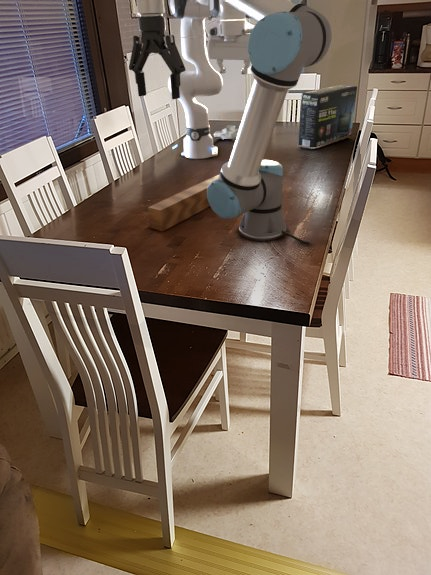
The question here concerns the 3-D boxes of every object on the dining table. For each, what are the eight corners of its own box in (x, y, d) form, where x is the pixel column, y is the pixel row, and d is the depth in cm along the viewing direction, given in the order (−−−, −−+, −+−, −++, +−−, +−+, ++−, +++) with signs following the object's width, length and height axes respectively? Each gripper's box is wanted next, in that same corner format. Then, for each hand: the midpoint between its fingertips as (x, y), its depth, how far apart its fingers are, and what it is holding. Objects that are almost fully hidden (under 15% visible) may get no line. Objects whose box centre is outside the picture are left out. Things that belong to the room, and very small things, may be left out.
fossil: (236, 135, 249) (218, 118, 252) (226, 152, 256) (208, 135, 259) (252, 134, 263) (234, 118, 266) (242, 150, 269) (225, 134, 273)
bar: (162, 231, 153) (160, 210, 149) (150, 227, 156) (147, 207, 152) (250, 184, 191) (250, 167, 187) (238, 182, 194) (238, 165, 190)
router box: (314, 151, 231) (318, 94, 217) (296, 148, 237) (299, 92, 224) (352, 138, 251) (358, 85, 238) (335, 135, 258) (340, 83, 245)
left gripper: (263, 28, 155) (262, 73, 162) (214, 29, 165) (216, 71, 172) (253, 29, 150) (253, 75, 157) (204, 30, 161) (205, 73, 168)
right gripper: (194, 13, 124) (198, 97, 135) (129, 16, 137) (137, 92, 148) (176, 14, 119) (182, 102, 130) (110, 17, 132) (120, 96, 142)
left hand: (233, 73), depth 165 cm, fingers open, 8 cm apart
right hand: (158, 97), depth 139 cm, fingers open, 13 cm apart
